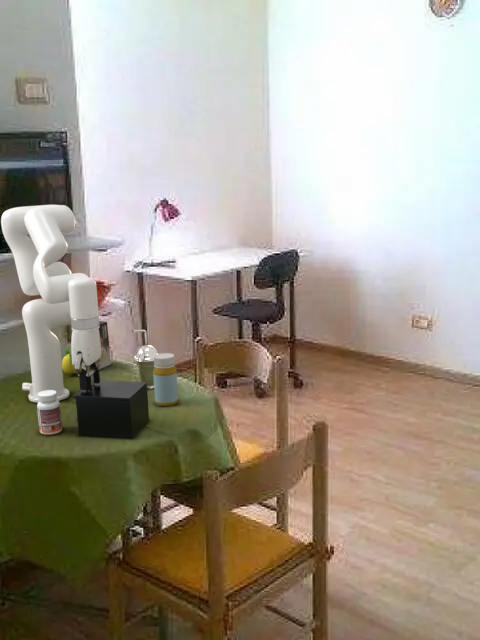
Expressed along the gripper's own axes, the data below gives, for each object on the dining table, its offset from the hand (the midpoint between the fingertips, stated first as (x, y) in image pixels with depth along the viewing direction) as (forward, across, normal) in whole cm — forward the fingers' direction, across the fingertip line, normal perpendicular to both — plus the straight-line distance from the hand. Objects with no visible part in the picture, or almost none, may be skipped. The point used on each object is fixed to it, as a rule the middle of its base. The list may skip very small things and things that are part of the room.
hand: (90, 385), depth 217 cm
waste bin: (+12, 0, +6) cm, 14 cm away
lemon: (+13, -44, -28) cm, 53 cm away
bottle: (+12, -22, +14) cm, 29 cm away
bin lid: (+1, 0, +6) cm, 6 cm away
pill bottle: (+12, +5, -11) cm, 17 cm away
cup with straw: (+12, -36, +3) cm, 38 cm away
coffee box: (+12, -54, -23) cm, 60 cm away
